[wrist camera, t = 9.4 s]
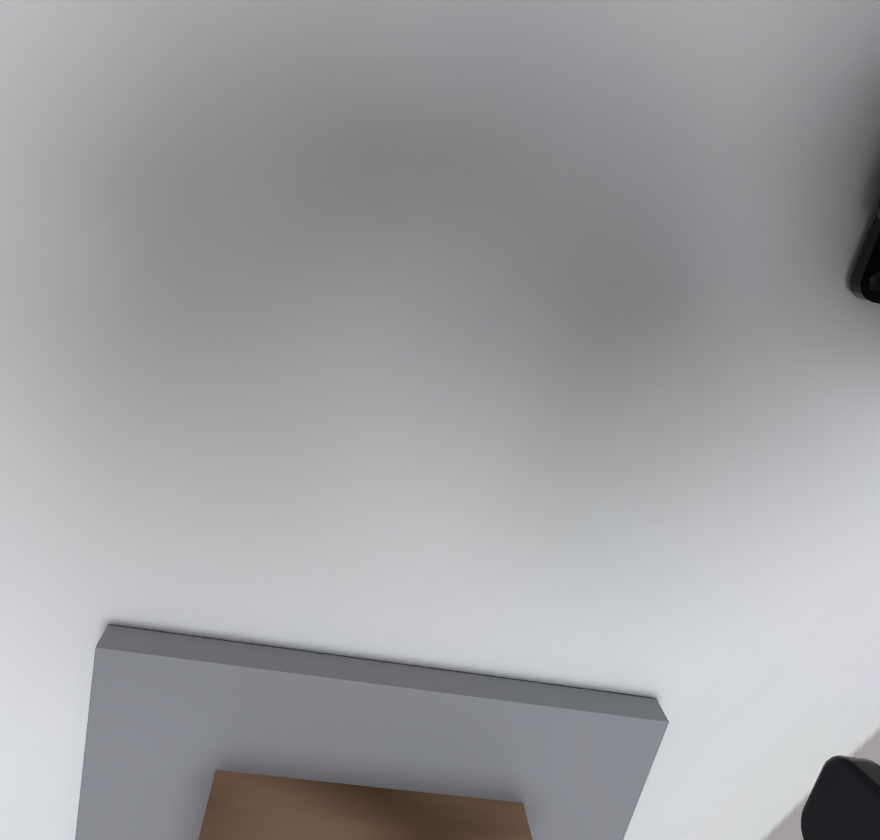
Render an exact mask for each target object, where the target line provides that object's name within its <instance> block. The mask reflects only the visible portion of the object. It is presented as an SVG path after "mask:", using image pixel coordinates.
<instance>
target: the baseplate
mask: <svg viewBox="0 0 880 840" xmlns="http://www.w3.org/2000/svg"><path fill="white" fill-rule="evenodd" d="M668 723H669V721H668V720H667V718H666V716H665V714H664V712H663V710H662V708H661V707H660V705H659V703H658V701H657V699H653V698H646V697H638V696H631V695H624V694H616V693H609V692H601V691H594V690H586V689H579V688H572V687H564V686H557V685H549V684H542V683H535V682H527V681H520V680H512V679H505V678H498V677H490V676H483V675H475V674H468V673H461V672H453V671H446V670H438V669H431V668H424V667H416V666H409V665H401V664H394V663H387V662H379V661H372V660H364V659H357V658H350V657H342V656H335V655H327V654H320V653H313V652H305V651H298V650H290V649H283V648H276V647H268V646H261V645H253V644H246V643H239V642H231V641H224V640H216V639H209V638H201V637H194V636H187V635H179V634H172V633H164V632H157V631H150V630H142V629H135V628H127V627H120V626H113V625H108V626H107V628H106V630H105V631H104V633H103V635H102V637H101V639H100V640H99V642H98V644H97V646H96V648H95V657H94V667H93V676H92V686H91V695H90V704H89V714H88V723H87V733H86V742H85V752H84V761H83V771H82V780H81V790H80V799H79V809H78V818H77V828H76V837H75V840H198V839H199V835H200V831H201V827H202V823H203V819H204V815H205V811H206V807H207V803H208V799H209V795H210V790H211V786H212V782H213V778H214V774H215V770H221V771H230V772H240V773H249V774H258V775H267V776H277V777H286V778H295V779H305V780H314V781H323V782H332V783H342V784H351V785H360V786H370V787H379V788H388V789H397V790H407V791H416V792H425V793H435V794H444V795H453V796H462V797H472V798H481V799H490V800H500V801H509V802H518V803H524V808H525V812H526V816H527V820H528V824H529V828H530V832H531V836H532V840H623V838H624V836H625V833H626V831H627V828H628V825H629V823H630V820H631V818H632V815H633V813H634V810H635V808H636V805H637V802H638V800H639V797H640V795H641V792H642V790H643V787H644V785H645V782H646V779H647V777H648V774H649V772H650V769H651V767H652V764H653V762H654V759H655V756H656V754H657V751H658V749H659V746H660V744H661V741H662V739H663V736H664V733H665V731H666V728H667V726H668Z"/></svg>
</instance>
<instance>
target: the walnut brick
mask: <svg viewBox="0 0 880 840" xmlns="http://www.w3.org/2000/svg"><path fill="white" fill-rule="evenodd" d="M198 840H532V836H531V832H530V828H529V824H528V820H527V816H526V812H525V808H524V803H518V802H509V801H500V800H490V799H481V798H472V797H462V796H453V795H444V794H435V793H425V792H416V791H407V790H397V789H388V788H379V787H370V786H360V785H351V784H342V783H332V782H323V781H314V780H305V779H295V778H286V777H277V776H267V775H258V774H249V773H240V772H230V771H221V770H215V774H214V778H213V782H212V786H211V790H210V795H209V799H208V803H207V807H206V811H205V815H204V819H203V823H202V827H201V831H200V835H199V839H198Z"/></svg>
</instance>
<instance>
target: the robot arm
mask: <svg viewBox="0 0 880 840" xmlns="http://www.w3.org/2000/svg"><path fill="white" fill-rule="evenodd" d="M876 208H877V212H876V215H875V218H874V220H873V223H872V225H871V228H870V230H869V233H868V235H867V238H866V240H865V243H864V245H863V248H862V251H861V253H860V256H859V258H858V261H857V263H856V266H855V268H854V271H853V273H852V276H851V281H850V285H851V291H852V292H853V293H854V295H855V296H857V297H859V298H860V299H863V300H867V301H871V302H875V303H879V304H880V199H879V201H878V204H877V207H876ZM877 272H878V275H879V281H878V283H877V284H876V286H875V287H874V288H872V289H871V288H870V279H871V278H872V276H873V275H874V274H876V273H877ZM801 830H802V835H803V838H804V840H880V765H878V764H877V763H875V762H873V761H870V760H868V759H864V758H856V757H848V756H834V757H831V758H830V759H829V760H828V761H826V763H825V764H824V766H823V768H822V770H821V772H820V774H819V776H818V778H817V781H816V783H815V785H814V787H813V789H812V791H811V793H810V795H809V798H808V800H807V802H806V804H805V806H804V808H803V811H802V815H801Z"/></svg>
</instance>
